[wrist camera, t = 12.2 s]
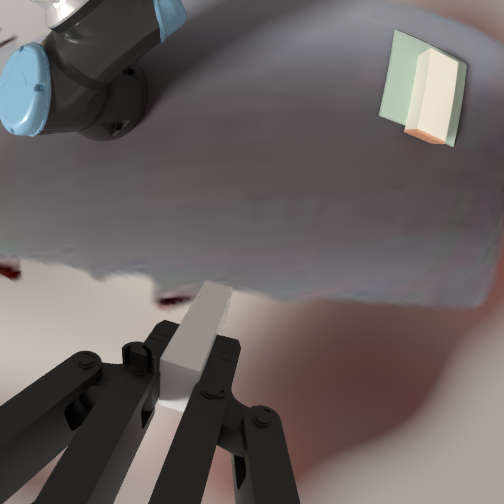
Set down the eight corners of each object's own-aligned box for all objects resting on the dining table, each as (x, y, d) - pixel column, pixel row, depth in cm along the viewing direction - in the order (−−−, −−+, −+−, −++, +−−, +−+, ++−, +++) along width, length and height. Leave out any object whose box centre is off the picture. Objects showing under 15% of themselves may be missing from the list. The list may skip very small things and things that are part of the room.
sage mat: (378, 115, 40) (379, 115, 39) (394, 30, 34) (395, 29, 33) (451, 146, 39) (453, 146, 39) (465, 65, 33) (466, 64, 33)
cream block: (416, 131, 35) (430, 47, 30) (404, 132, 39) (418, 55, 34) (444, 144, 34) (458, 62, 29) (430, 143, 39) (444, 67, 34)
